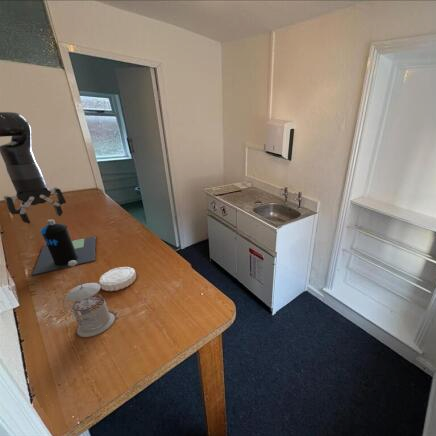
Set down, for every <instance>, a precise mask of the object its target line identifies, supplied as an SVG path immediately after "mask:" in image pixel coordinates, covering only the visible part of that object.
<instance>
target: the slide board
mask: <svg viewBox="0 0 436 436" xmlns="http://www.w3.org/2000/svg"><path fill="white" fill-rule="evenodd" d="M71 241H72V243H73V246H74V249H75V251H76V254H77V255H78V259H77V260H76V262H77V264H76V265H74V267H75V266H79V265H83V264H88V263H91V262H95V261H96V236H89V237H84V238H79V239H74V240H71ZM70 267H72V266H68V264H66V265H55V264H54V260H53V258H52V256H51V253H50V251H49V249H48V246H47V245H43V246H42V248H41V251H40V253H39V256H38V259H37V262H36V264H35V267H34V269H33V272H32V276H36V275H41V274H42V275H43V274H45V273H49V272H55V271H57V270H62V269H63V270H64V269H67V268H70Z"/></svg>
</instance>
